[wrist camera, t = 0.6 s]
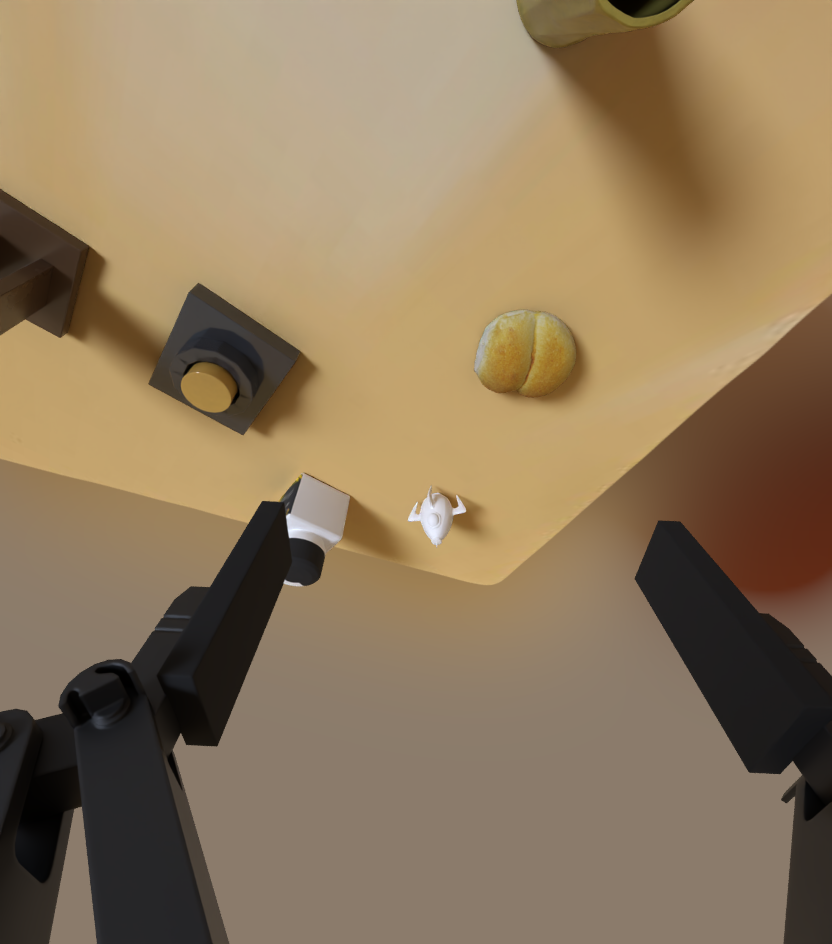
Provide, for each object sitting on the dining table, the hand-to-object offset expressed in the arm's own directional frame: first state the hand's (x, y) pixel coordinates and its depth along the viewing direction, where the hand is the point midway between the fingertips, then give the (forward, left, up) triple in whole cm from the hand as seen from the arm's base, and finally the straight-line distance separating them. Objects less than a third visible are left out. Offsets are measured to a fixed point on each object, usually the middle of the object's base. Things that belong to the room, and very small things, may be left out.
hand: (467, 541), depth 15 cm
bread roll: (+1, +10, -28) cm, 30 cm away
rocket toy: (+22, +18, -28) cm, 40 cm away
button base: (+21, -11, -28) cm, 37 cm away
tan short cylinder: (+21, -11, -24) cm, 34 cm away
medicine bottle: (+33, +6, -28) cm, 44 cm away
